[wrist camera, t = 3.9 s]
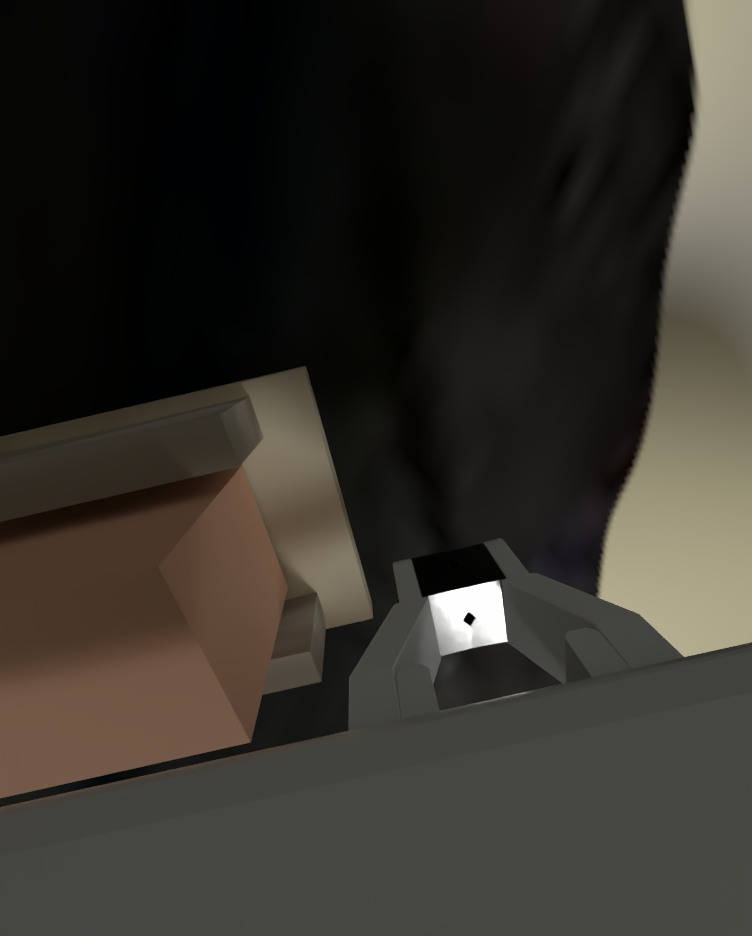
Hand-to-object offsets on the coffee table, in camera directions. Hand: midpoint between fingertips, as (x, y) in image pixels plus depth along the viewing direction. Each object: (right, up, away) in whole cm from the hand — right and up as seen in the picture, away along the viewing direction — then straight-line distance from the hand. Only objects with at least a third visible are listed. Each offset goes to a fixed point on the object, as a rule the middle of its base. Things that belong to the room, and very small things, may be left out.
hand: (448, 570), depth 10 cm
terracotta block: (-11, -1, +4) cm, 12 cm away
